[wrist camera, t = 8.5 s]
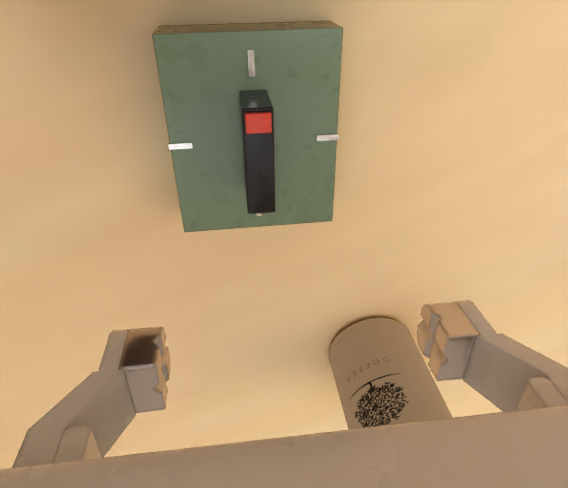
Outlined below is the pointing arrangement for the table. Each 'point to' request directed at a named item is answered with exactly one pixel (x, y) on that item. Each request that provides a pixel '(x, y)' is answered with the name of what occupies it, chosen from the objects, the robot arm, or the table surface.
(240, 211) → the panel
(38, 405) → the table surface
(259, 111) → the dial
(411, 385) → the travel mug
